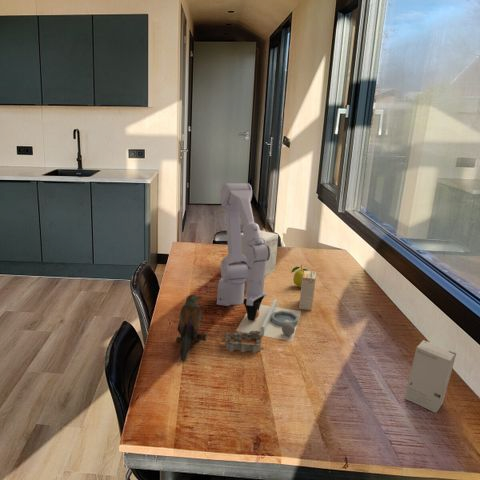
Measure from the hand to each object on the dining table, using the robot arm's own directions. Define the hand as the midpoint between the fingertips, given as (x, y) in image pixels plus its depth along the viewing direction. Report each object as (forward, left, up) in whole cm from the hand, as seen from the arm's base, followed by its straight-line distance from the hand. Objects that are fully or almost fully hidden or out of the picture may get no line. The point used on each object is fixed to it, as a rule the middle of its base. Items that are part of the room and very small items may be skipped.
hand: (252, 317), depth 145 cm
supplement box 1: (-10, +50, -2) cm, 51 cm away
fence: (+5, +1, -2) cm, 6 cm away
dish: (+10, +3, -1) cm, 11 cm away
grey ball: (+13, -7, +1) cm, 15 cm away
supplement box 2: (+16, +19, -2) cm, 25 cm away
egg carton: (+1, -17, -2) cm, 17 cm away
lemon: (+11, +38, -2) cm, 40 cm away
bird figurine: (-14, -22, -2) cm, 26 cm away
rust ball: (0, 0, +1) cm, 1 cm away
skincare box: (+51, -27, -2) cm, 58 cm away
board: (+6, +1, -2) cm, 6 cm away
